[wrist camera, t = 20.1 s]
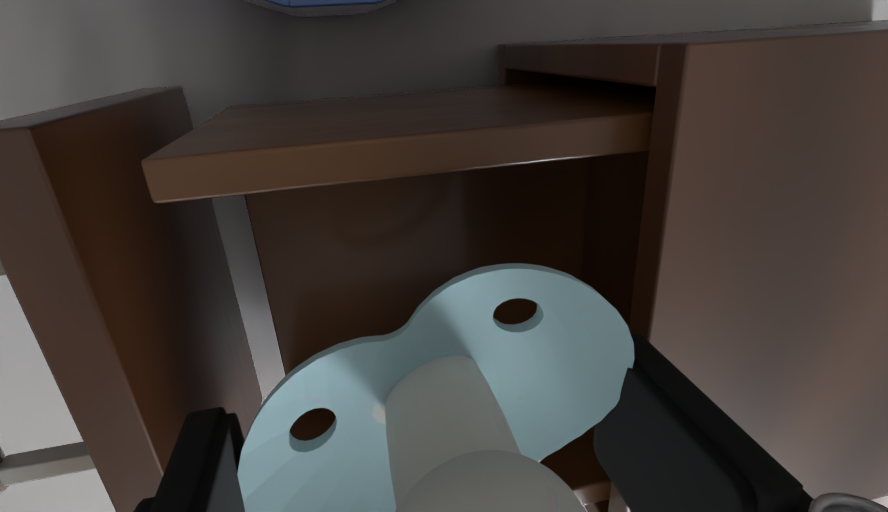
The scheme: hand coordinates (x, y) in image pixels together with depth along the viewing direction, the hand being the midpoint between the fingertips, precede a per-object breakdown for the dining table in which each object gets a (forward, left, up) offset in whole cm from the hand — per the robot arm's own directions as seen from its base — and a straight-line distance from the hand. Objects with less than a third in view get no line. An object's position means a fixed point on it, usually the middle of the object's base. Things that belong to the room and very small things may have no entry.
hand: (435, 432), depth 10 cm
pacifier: (0, 0, -2) cm, 2 cm away
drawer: (-2, 0, -10) cm, 10 cm away
